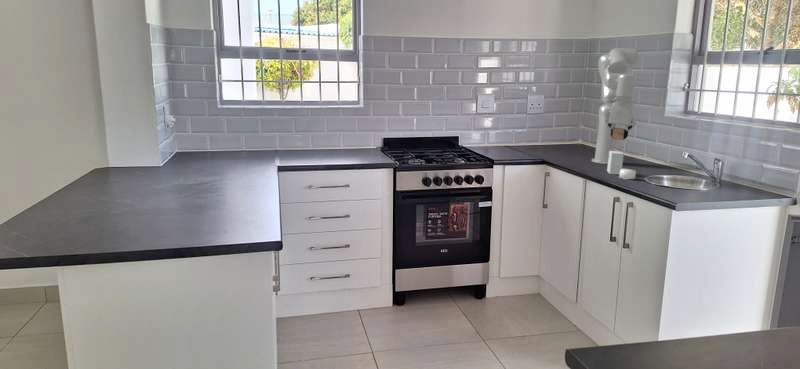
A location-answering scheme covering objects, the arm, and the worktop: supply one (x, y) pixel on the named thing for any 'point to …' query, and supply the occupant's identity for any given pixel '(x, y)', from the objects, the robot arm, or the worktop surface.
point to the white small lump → (627, 174)
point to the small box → (615, 162)
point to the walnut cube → (618, 133)
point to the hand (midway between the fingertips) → (618, 137)
